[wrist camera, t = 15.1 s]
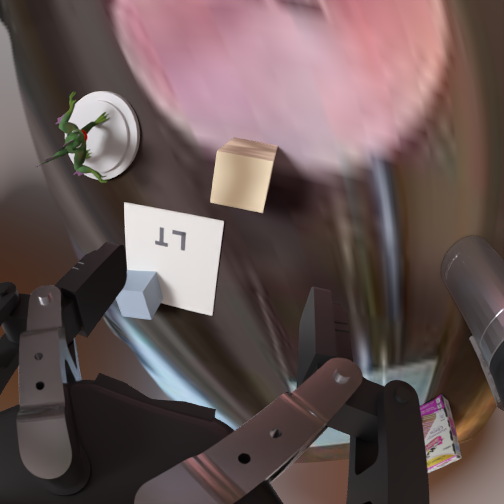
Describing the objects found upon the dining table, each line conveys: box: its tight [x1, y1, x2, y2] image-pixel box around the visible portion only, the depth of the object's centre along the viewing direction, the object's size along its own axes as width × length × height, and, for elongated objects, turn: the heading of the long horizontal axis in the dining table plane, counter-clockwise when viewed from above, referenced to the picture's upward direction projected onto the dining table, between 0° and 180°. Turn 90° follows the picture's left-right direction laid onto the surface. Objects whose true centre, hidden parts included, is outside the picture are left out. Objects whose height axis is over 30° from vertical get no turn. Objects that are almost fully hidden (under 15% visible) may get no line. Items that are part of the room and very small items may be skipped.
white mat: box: [124, 202, 224, 316], centre depth 42 cm, size 14×16×1 cm
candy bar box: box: [420, 394, 462, 473], centre depth 47 cm, size 11×5×16 cm, turn 140°
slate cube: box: [116, 270, 163, 320], centre depth 42 cm, size 5×5×5 cm
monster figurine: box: [39, 91, 140, 183], centre depth 29 cm, size 12×12×10 cm
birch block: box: [210, 138, 278, 213], centre depth 30 cm, size 5×5×8 cm
